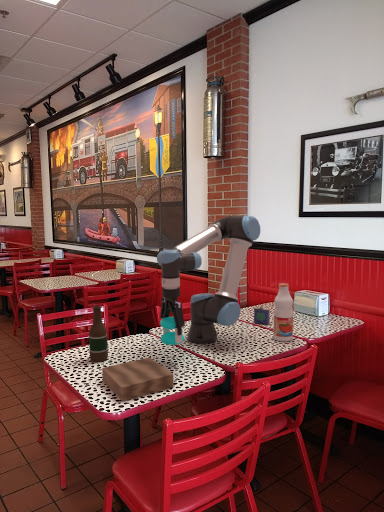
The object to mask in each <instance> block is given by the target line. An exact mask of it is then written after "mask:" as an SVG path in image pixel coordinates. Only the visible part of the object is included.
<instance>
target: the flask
mask: <svg viewBox="0 0 384 512" xmlns="http://www.w3.org/2000/svg"><path fill="white" fill-rule="evenodd" d="M270 312H271V310H270V308H264V305H260V306H257V307H254V308H253V324H254V325H255V324H256V325H263V326H269V325H271V323H270V316H271V313H270Z"/></svg>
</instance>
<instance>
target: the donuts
mask: <svg viewBox="0 0 384 512" xmlns="http://www.w3.org/2000/svg"><path fill="white" fill-rule="evenodd" d="M159 325H160V326H161V327H162V329H163V328H166V329H170V330H175V327H176V324H175V321H174V317H173V316H169V317H165V318H163V319H162V318H161V320H160V322H159ZM160 341H161V343H162V344H163V345H167V346H168V345H169V346H174V345H175V346H176V345H180V344H182V343H183V342H184V341H185V336H184V334H183V333H182V342H180V343H175V331H170V332H167V333H165V334H163V333H162V335H161V337H160Z"/></svg>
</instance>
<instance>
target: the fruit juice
mask: <svg viewBox="0 0 384 512" xmlns="http://www.w3.org/2000/svg"><path fill="white" fill-rule="evenodd" d="M289 288H290V284H289V283H284V282H281V283H279V284H278V292H277V295H276V296H275V298H274V301H273V302H274V310H273V339H274V340H275V341H278V342H291V341H292V340H293V338H294V310H293V305H294V300H293V298H292V295H291V293H290V291H289Z"/></svg>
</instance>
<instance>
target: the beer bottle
mask: <svg viewBox="0 0 384 512" xmlns="http://www.w3.org/2000/svg"><path fill="white" fill-rule="evenodd" d="M92 310H93V312H92V325H91V327H90V328H89V331H88V346H89V347H88V348H89V349H88V350H89V360H90V362H92V363H103V362H105V361H107V359H108V357H109V348H108V330H107V327H106V326H105V325H104V323H103V318H102V306H101V305H99V304H97V305H93V306H92Z"/></svg>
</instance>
